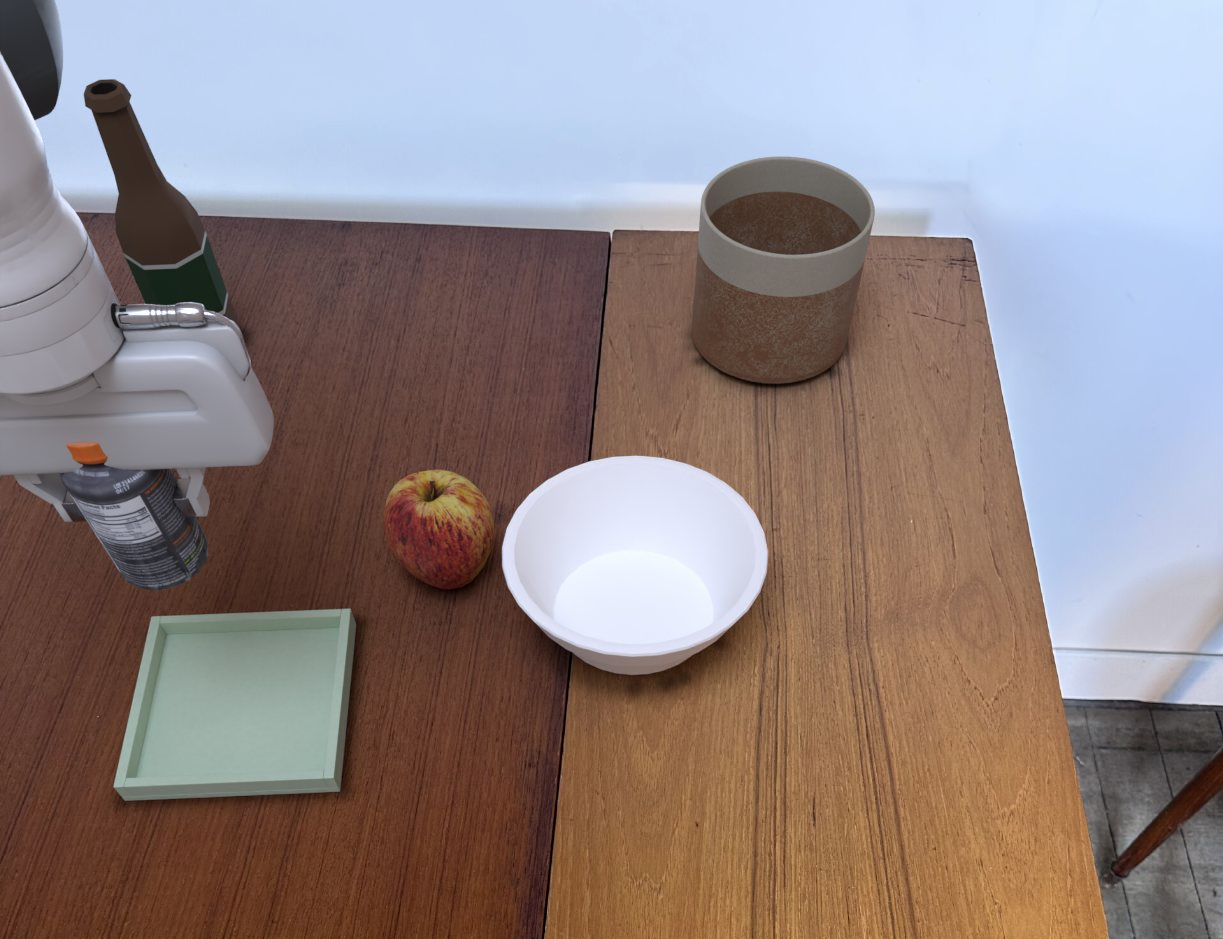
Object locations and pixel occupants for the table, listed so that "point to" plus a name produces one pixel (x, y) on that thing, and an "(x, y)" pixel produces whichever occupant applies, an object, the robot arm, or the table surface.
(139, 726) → the tray
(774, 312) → the planter
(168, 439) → the robot arm
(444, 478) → the apple
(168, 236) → the beer bottle
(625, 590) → the bowl
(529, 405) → the table surface
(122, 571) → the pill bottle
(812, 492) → the table surface
